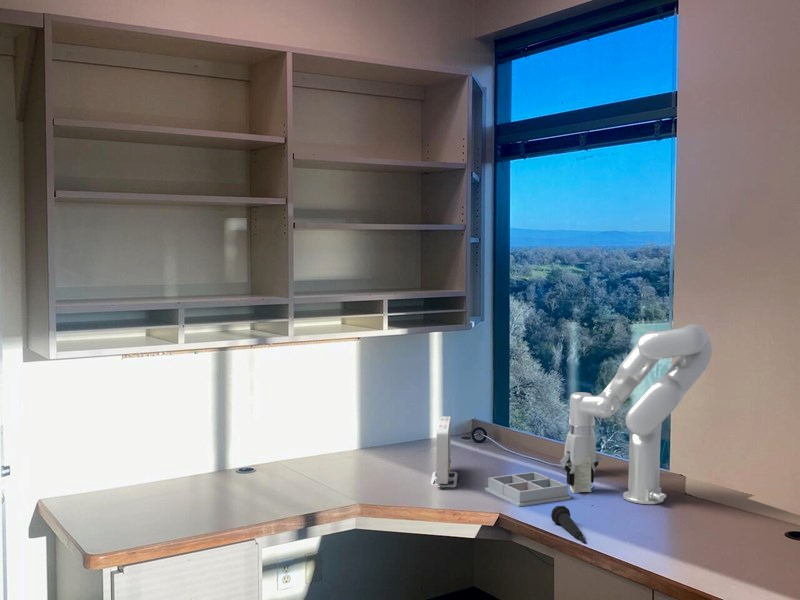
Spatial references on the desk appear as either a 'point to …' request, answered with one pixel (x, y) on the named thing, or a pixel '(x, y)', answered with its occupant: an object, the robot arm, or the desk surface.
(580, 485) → the skincare box
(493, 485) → the gray compartment tray
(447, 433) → the network device
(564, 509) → the microphone
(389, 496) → the desk surface
